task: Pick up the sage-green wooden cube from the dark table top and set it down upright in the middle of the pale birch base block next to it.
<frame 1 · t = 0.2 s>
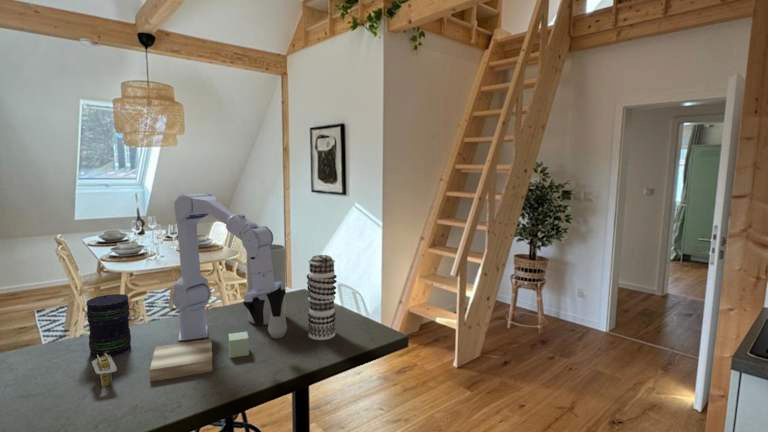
hand: (268, 320, 114), 10 cm above the table, tool pointing down, fingers open, 7 cm apart
green cube: (238, 352, 117), on the table
salt shaker: (277, 336, 129), on the table
platform: (104, 384, 100), on the table
birch base: (183, 364, 110), on the table
cylinder vase: (267, 319, 143), on the table
black white patterned cylinder: (321, 335, 130), on the table
storage jar: (111, 351, 117), on the table
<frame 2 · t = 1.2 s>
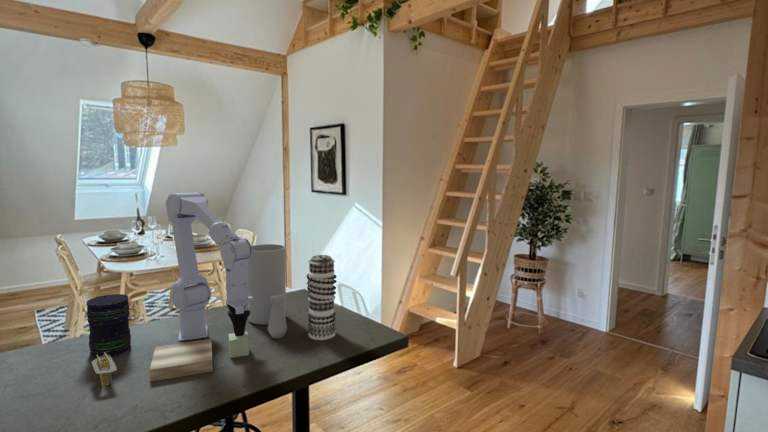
hand: (238, 330, 116), 6 cm above the table, tool pointing down, fingers open, 7 cm apart
nothing on the table moved.
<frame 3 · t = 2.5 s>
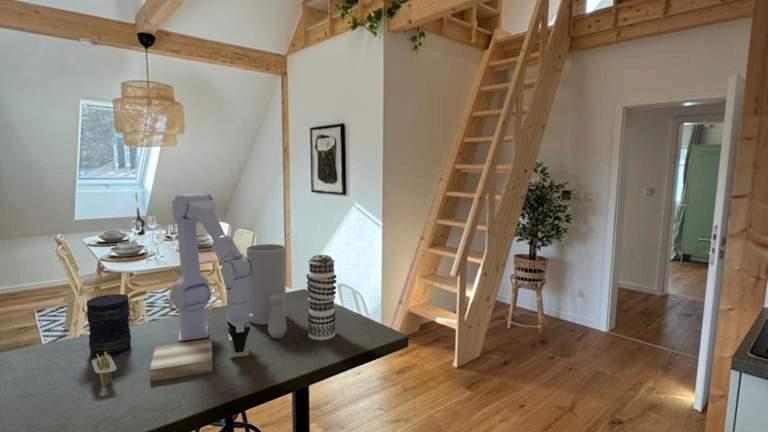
hand: (238, 347, 117), 1 cm above the table, tool pointing down, fingers closed on green cube, 5 cm apart
green cube: (238, 352, 117), on the table, touching gripper
everything else where it was.
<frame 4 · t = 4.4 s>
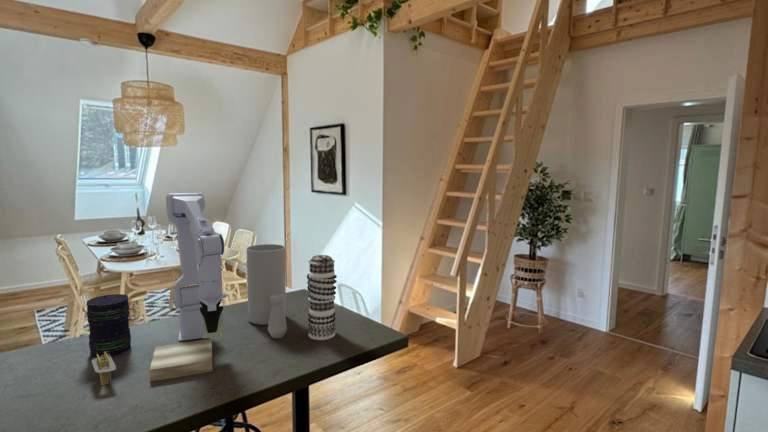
hand: (211, 328, 112), 8 cm above the table, tool pointing down, fingers closed on green cube, 5 cm apart
green cube: (212, 333, 113), point 7 cm above the table, touching gripper
everything else where it was.
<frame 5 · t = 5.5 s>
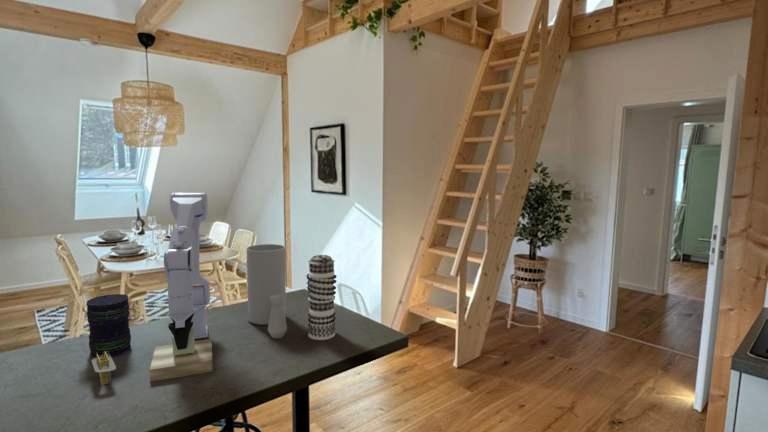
hand: (182, 344, 109), 5 cm above the table, tool pointing down, fingers closed on green cube, 5 cm apart
green cube: (184, 350, 109), point 4 cm above the table, touching gripper
everything else where it was.
when the fingers open (5 cm above the table, at t = 6.3 s): green cube stays where it is, resting on birch base.
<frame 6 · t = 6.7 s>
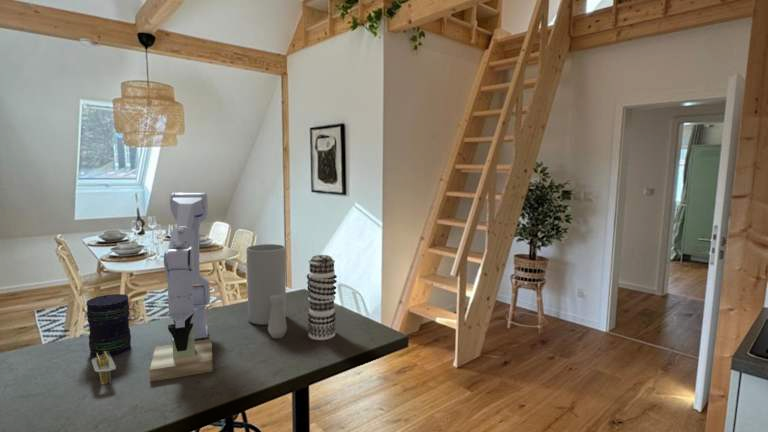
hand: (182, 344, 109), 5 cm above the table, tool pointing down, fingers open, 7 cm apart
green cube: (184, 353, 109), point 3 cm above the table, touching birch base
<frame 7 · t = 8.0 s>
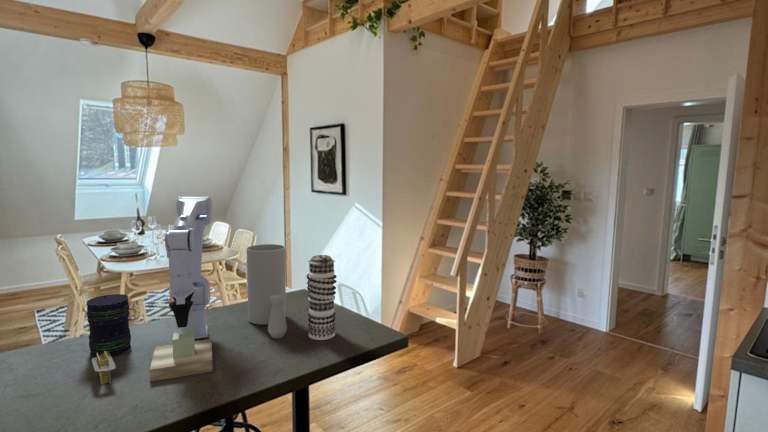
hand: (183, 322, 114), 9 cm above the table, tool pointing down, fingers open, 7 cm apart
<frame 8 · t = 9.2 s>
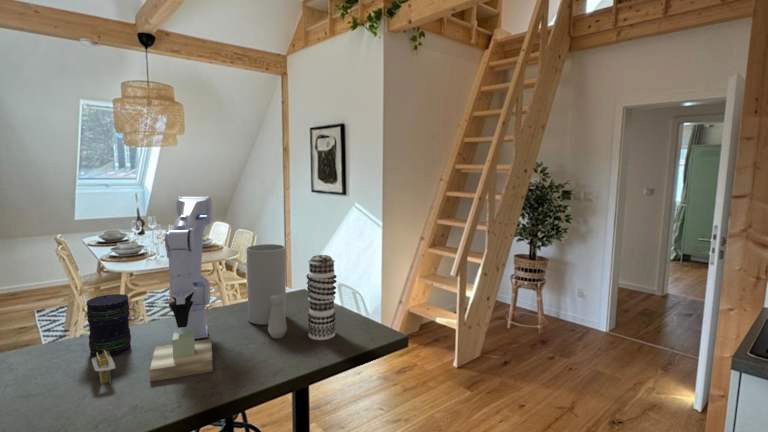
hand: (183, 322, 114), 9 cm above the table, tool pointing down, fingers open, 7 cm apart
at the end: green cube inside the target area on the birch base (0.3 cm from its centre), point 3.0 cm above the birch base's base; green cube tilted 0°; the gripper is holding nothing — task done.
